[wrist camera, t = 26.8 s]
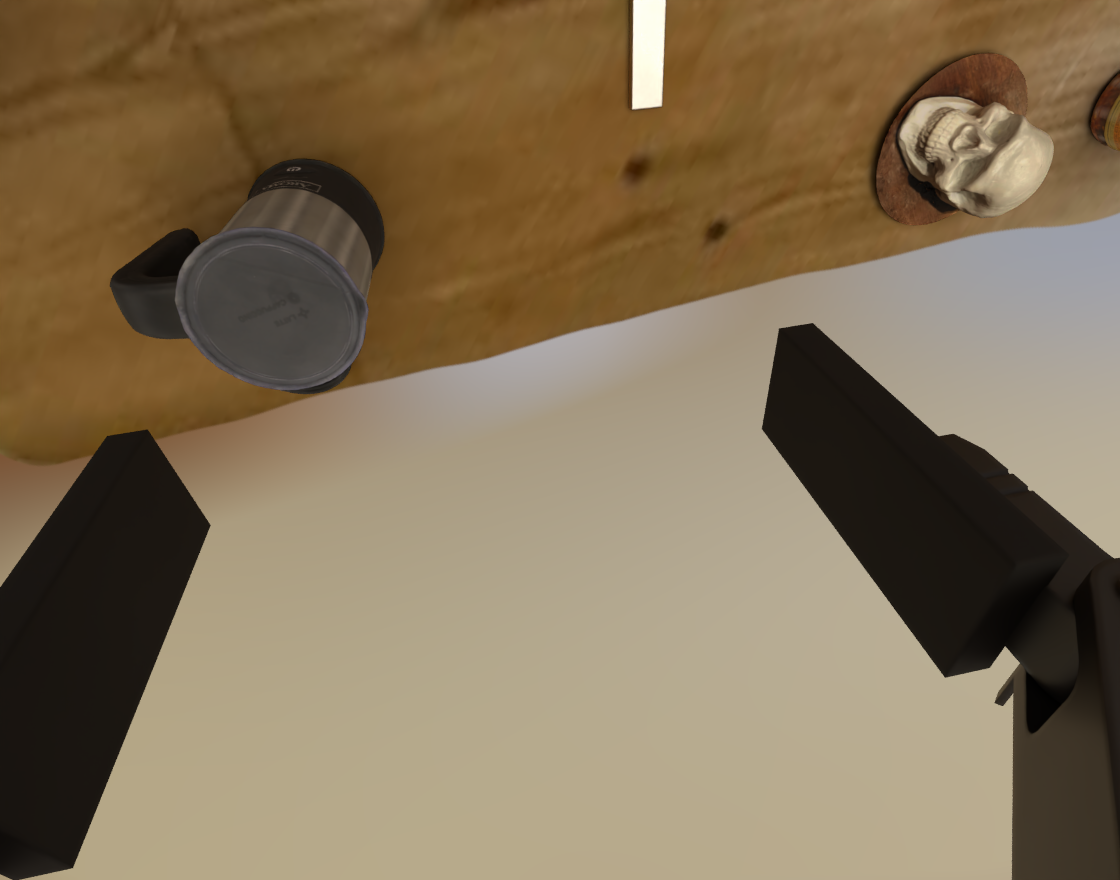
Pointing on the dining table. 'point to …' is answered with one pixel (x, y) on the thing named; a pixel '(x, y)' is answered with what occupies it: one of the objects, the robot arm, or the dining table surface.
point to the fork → (646, 53)
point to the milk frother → (267, 281)
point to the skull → (963, 145)
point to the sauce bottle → (1108, 116)
